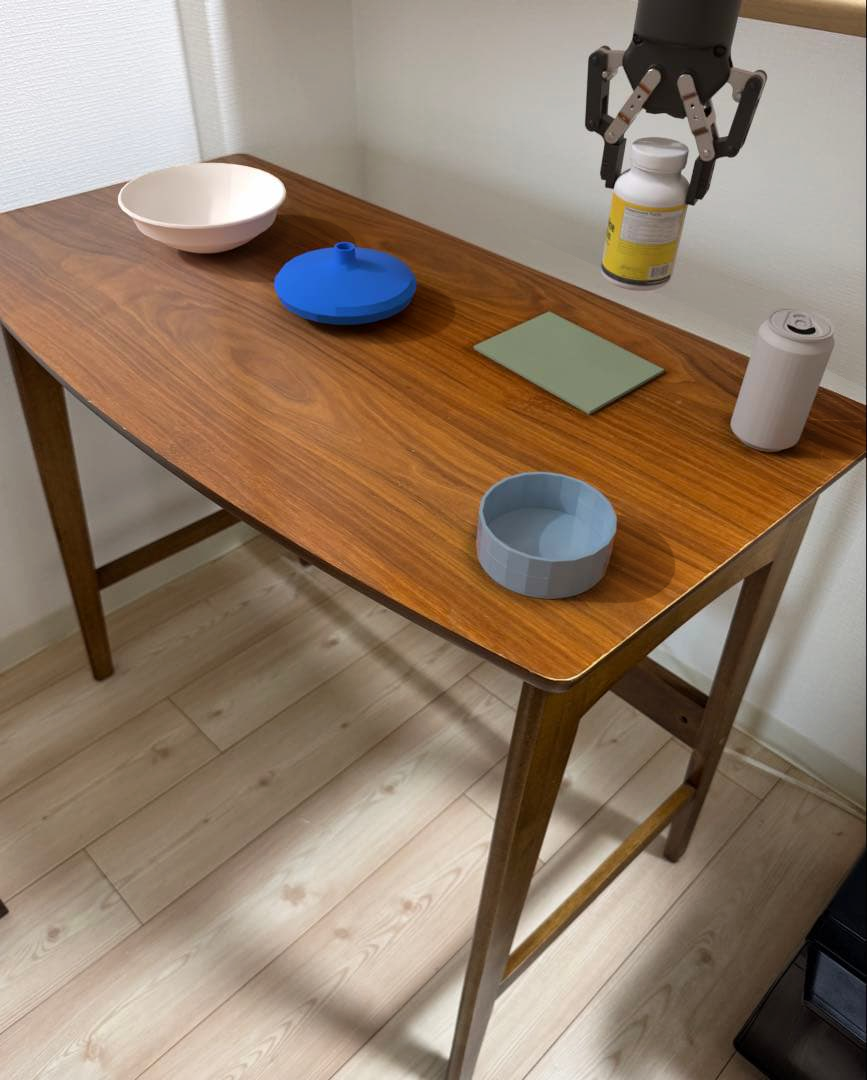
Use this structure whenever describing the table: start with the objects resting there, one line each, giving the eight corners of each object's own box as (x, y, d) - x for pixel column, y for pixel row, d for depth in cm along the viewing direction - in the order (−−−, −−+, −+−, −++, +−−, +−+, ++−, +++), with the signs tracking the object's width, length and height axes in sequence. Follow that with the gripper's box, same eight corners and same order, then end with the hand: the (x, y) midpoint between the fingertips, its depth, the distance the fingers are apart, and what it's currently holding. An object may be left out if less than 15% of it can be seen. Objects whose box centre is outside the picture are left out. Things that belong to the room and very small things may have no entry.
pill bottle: (627, 255, 86) (651, 127, 78) (684, 279, 82) (715, 148, 75) (584, 275, 82) (605, 144, 74) (643, 301, 79) (670, 166, 71)
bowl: (98, 266, 107) (86, 214, 103) (170, 203, 121) (162, 154, 117) (256, 288, 104) (250, 235, 100) (311, 221, 118) (308, 172, 114)
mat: (663, 372, 94) (664, 369, 93) (589, 414, 87) (589, 411, 87) (548, 314, 102) (549, 311, 102) (473, 349, 96) (473, 345, 95)
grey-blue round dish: (536, 492, 78) (542, 455, 75) (634, 555, 73) (644, 518, 70) (449, 547, 73) (451, 509, 70) (548, 620, 67) (554, 582, 64)
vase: (248, 300, 102) (241, 240, 97) (359, 262, 110) (358, 205, 105) (331, 357, 93) (328, 294, 89) (445, 312, 101) (447, 252, 97)
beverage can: (730, 451, 84) (767, 336, 76) (725, 413, 88) (759, 300, 80) (801, 460, 83) (845, 344, 75) (792, 421, 88) (833, 308, 80)
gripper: (586, -38, 66) (557, 192, 77) (787, -12, 61) (726, 227, 72) (616, -53, 71) (585, 164, 82) (804, -31, 66) (744, 195, 78)
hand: (651, 193), depth 77 cm, fingers closed on pill bottle, 6 cm apart
